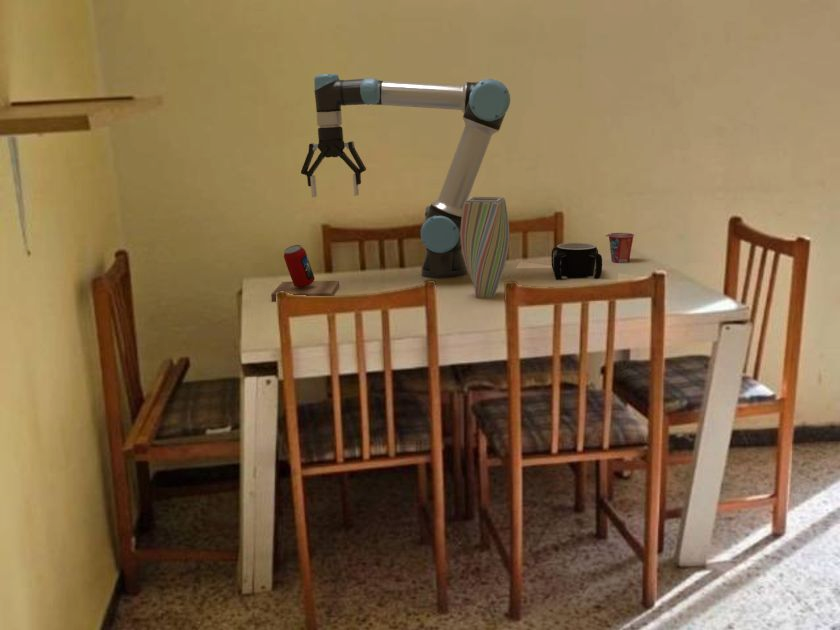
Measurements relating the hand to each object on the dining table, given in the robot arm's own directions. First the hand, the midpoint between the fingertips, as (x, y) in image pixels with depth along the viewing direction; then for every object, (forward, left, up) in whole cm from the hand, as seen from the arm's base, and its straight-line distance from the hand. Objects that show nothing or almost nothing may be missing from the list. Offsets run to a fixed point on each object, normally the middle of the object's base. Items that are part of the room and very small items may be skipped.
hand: (335, 196), depth 278 cm
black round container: (-73, -14, -29) cm, 80 cm away
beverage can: (+7, +12, -26) cm, 29 cm away
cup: (-86, -37, -29) cm, 98 cm away
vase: (-49, +16, -29) cm, 60 cm away
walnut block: (+7, +12, -29) cm, 33 cm away
